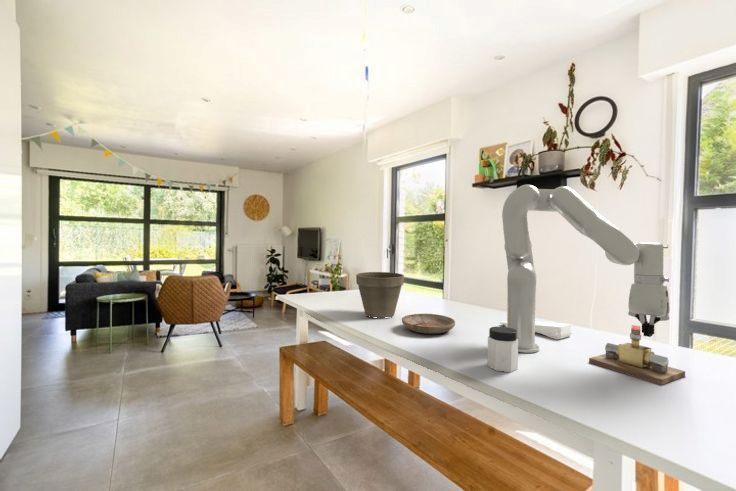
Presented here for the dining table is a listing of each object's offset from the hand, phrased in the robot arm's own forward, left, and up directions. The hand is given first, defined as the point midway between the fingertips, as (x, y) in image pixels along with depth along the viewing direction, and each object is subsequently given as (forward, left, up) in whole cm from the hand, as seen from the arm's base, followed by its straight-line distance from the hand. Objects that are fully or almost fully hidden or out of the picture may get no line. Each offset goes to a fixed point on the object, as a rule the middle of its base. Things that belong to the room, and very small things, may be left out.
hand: (647, 335), depth 117 cm
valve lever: (-4, +2, 0) cm, 5 cm away
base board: (-10, -1, -9) cm, 13 cm away
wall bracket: (+2, +44, -10) cm, 45 cm away
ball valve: (-10, -1, -7) cm, 13 cm away
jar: (-46, +19, -9) cm, 51 cm away
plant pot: (-44, +100, -9) cm, 110 cm away
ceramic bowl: (-39, +66, -9) cm, 77 cm away
